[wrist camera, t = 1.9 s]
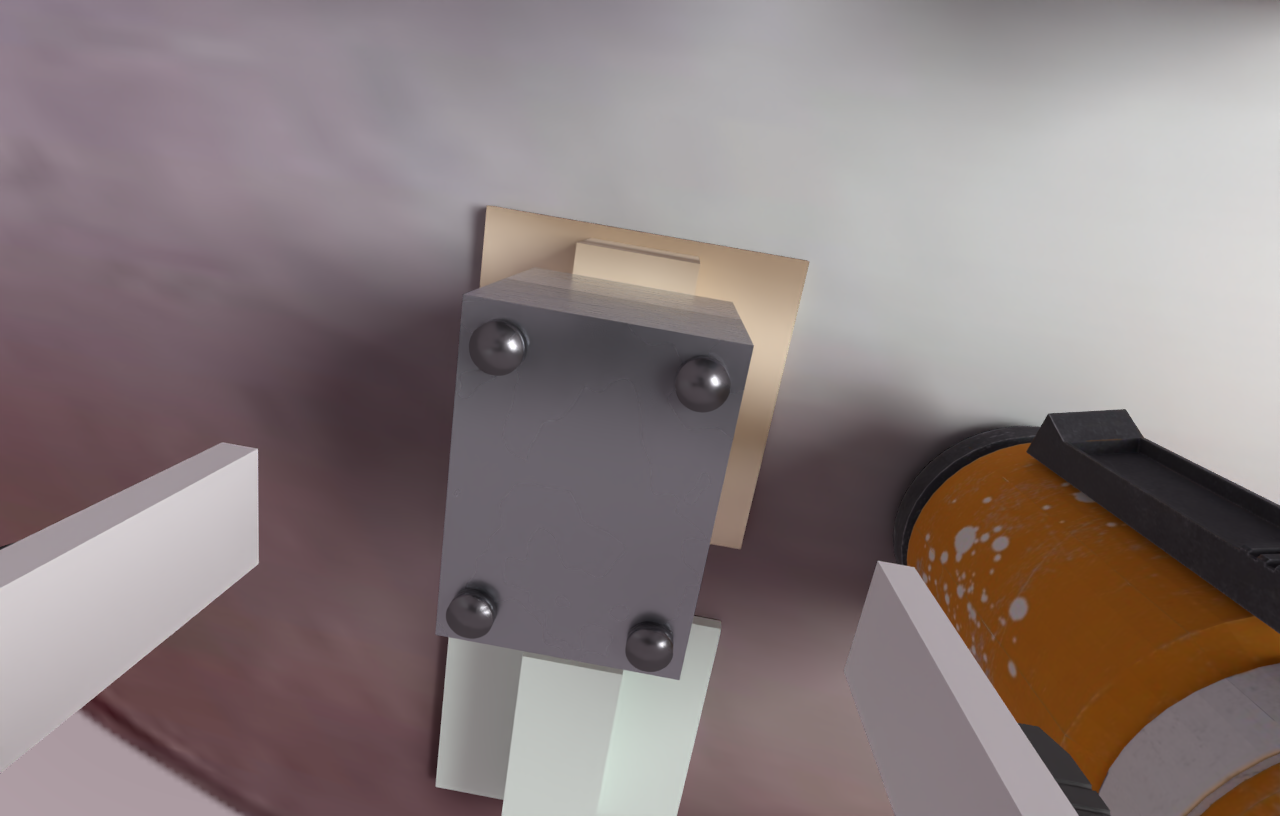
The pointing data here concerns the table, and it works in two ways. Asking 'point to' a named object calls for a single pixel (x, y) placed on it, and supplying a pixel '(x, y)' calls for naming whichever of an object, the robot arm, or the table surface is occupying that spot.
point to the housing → (587, 466)
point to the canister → (1113, 605)
